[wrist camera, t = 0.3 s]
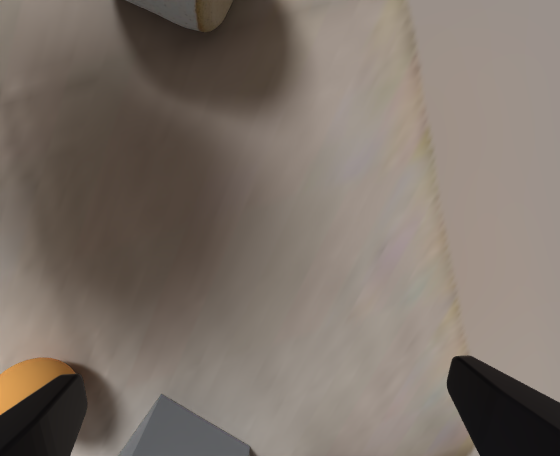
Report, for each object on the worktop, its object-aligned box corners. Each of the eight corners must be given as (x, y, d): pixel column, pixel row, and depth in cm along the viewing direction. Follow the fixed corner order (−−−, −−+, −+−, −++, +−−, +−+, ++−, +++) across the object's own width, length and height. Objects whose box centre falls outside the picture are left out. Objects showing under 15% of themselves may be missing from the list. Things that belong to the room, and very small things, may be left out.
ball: (69, 424, 23) (17, 487, 18) (5, 388, 22) (-67, 443, 17) (108, 368, 23) (66, 416, 18) (44, 330, 22) (-18, 369, 17)
